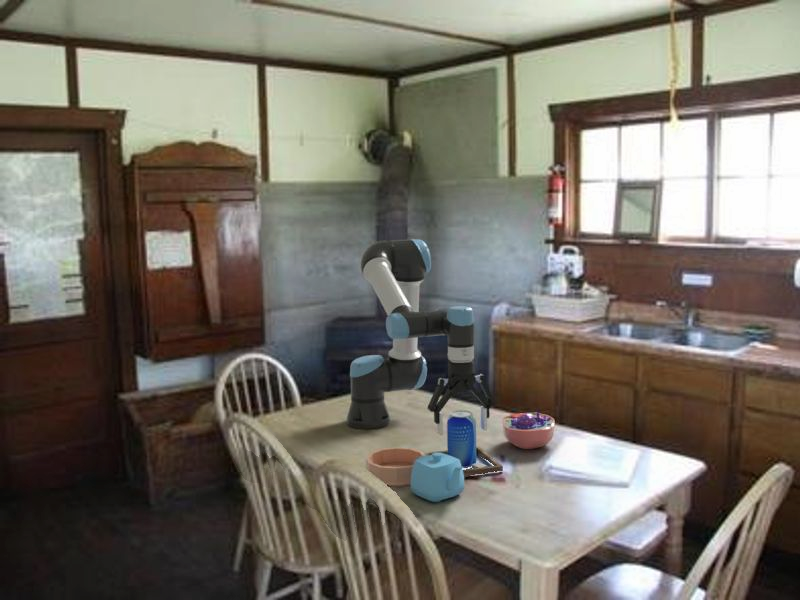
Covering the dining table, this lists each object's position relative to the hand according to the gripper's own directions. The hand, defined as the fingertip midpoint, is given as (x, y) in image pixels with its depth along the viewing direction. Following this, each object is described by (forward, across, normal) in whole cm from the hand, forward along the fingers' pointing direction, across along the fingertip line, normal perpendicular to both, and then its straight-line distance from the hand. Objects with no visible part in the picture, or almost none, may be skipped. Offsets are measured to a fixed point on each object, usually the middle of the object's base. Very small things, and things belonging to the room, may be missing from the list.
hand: (462, 431), depth 224 cm
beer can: (+11, 0, 0) cm, 11 cm away
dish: (+11, -20, 0) cm, 23 cm away
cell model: (+11, +26, +10) cm, 30 cm away
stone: (+11, +3, -5) cm, 13 cm away
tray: (+11, 0, 0) cm, 11 cm away
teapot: (+11, -13, -19) cm, 26 cm away
